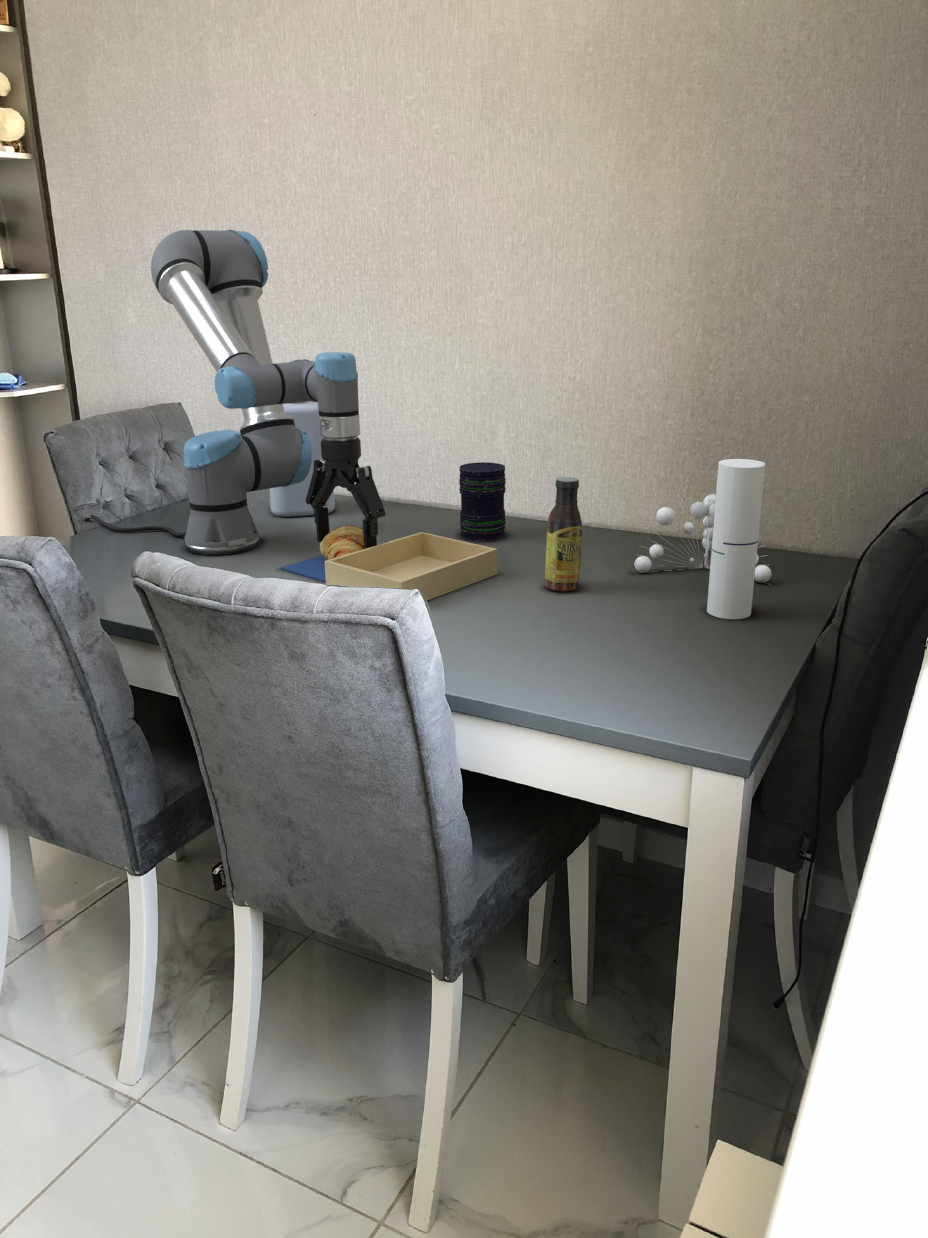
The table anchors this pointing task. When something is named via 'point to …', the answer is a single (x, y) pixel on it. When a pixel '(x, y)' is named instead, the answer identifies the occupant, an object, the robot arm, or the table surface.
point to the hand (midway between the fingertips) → (346, 546)
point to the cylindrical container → (735, 537)
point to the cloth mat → (309, 568)
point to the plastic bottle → (294, 496)
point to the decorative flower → (697, 512)
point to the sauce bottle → (564, 538)
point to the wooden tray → (415, 565)
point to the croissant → (342, 542)
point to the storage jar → (482, 501)
